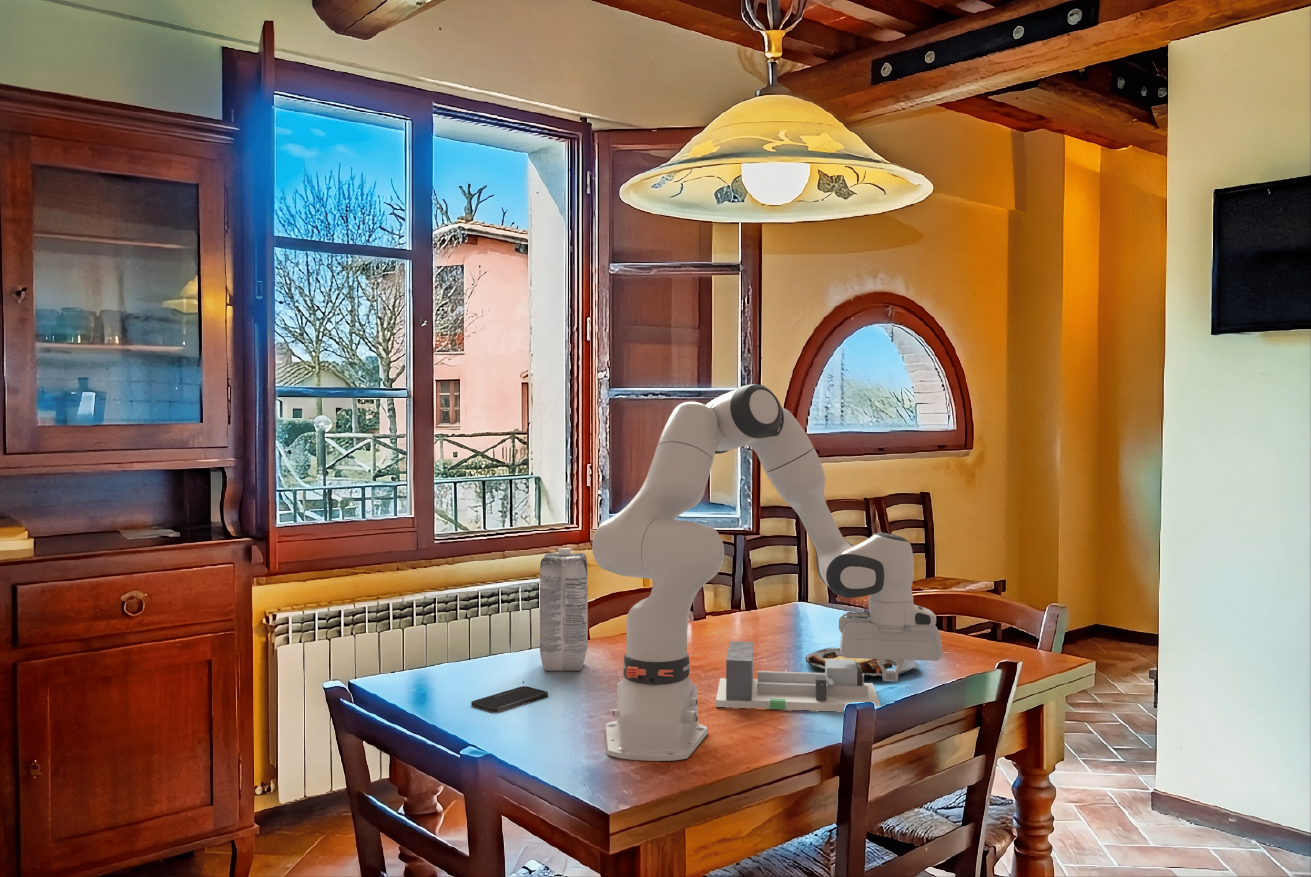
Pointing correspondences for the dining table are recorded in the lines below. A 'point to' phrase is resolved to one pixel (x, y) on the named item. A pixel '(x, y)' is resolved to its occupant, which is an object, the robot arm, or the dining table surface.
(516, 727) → the dining table surface
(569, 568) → the juice carton
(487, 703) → the phone
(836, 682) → the block
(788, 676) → the base
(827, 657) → the food plate
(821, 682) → the block
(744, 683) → the grey rectangular block
